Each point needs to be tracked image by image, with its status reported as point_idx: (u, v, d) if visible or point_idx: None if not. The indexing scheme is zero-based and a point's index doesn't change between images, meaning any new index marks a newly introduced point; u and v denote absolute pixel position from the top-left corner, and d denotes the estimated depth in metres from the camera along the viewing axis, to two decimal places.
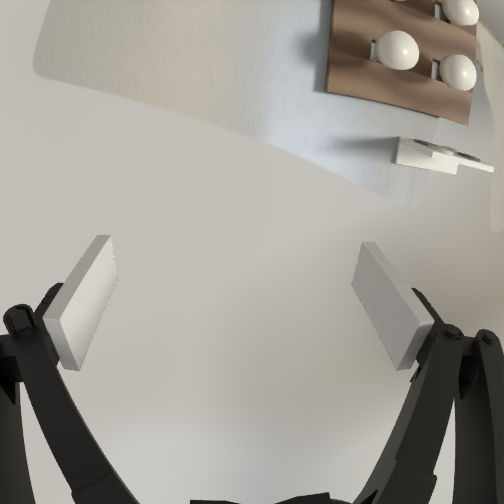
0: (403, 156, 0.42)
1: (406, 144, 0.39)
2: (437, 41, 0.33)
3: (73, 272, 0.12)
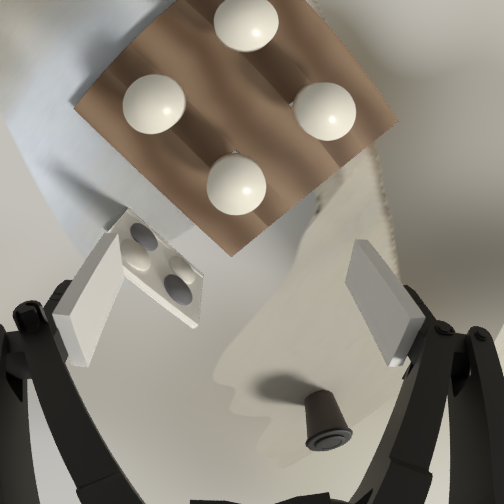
0: None
1: (118, 220, 0.32)
2: (263, 134, 0.30)
3: (81, 269, 0.12)
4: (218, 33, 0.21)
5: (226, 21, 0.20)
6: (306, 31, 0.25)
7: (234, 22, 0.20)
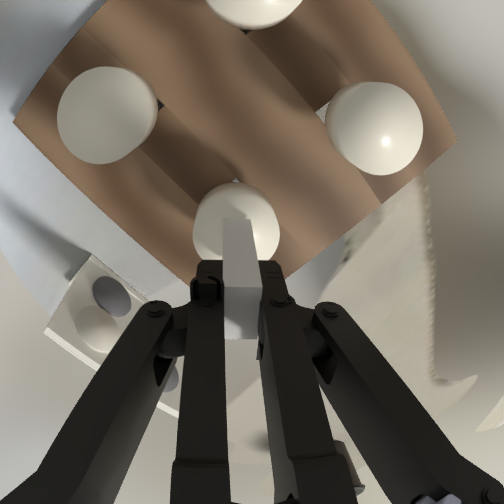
0: None
1: (77, 274, 0.23)
2: (276, 155, 0.21)
3: (225, 248, 0.15)
4: None
5: None
6: (341, 7, 0.16)
7: None
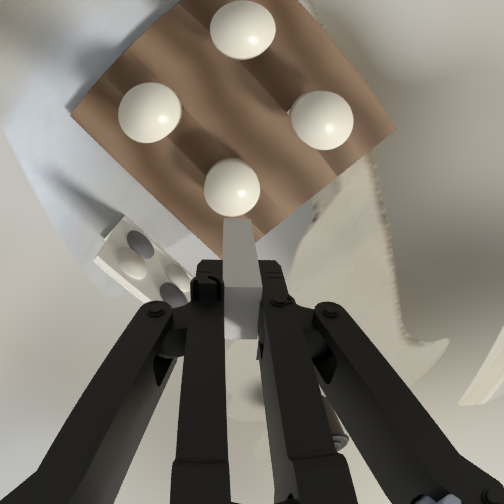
0: None
1: (114, 228, 0.32)
2: (259, 142, 0.30)
3: (225, 248, 0.15)
4: (214, 41, 0.21)
5: (222, 28, 0.20)
6: (304, 38, 0.25)
7: (230, 29, 0.20)
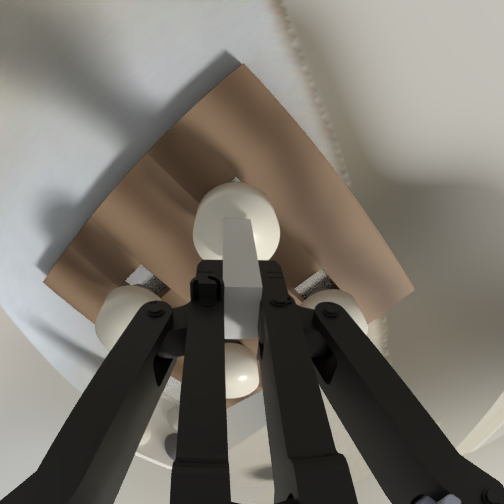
0: None
1: None
2: None
3: (225, 248, 0.15)
4: (200, 253, 0.19)
5: (209, 237, 0.19)
6: (320, 201, 0.23)
7: (220, 239, 0.19)
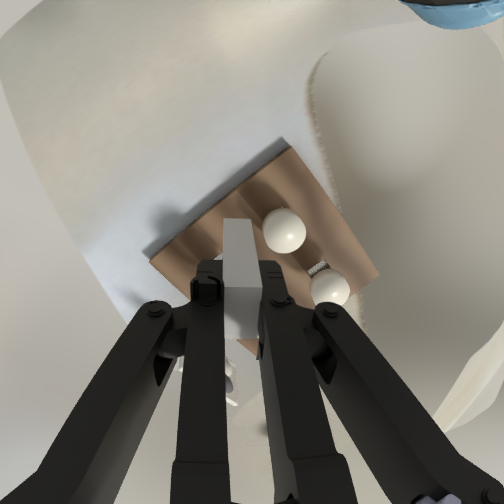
0: None
1: None
2: None
3: (225, 248, 0.15)
4: (267, 242, 0.39)
5: (272, 234, 0.38)
6: (325, 221, 0.42)
7: (277, 235, 0.38)
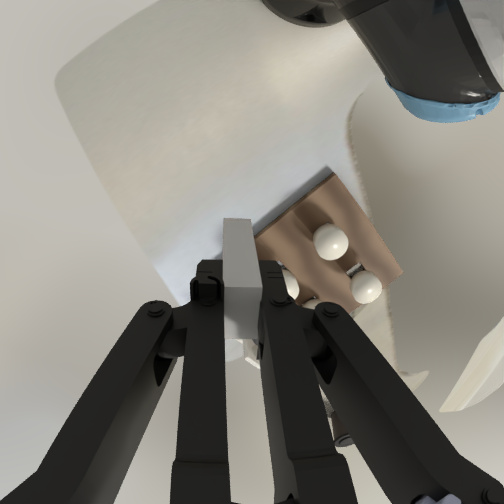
0: None
1: None
2: (329, 287, 0.56)
3: (225, 248, 0.15)
4: (318, 252, 0.48)
5: (323, 246, 0.47)
6: (361, 232, 0.51)
7: (326, 246, 0.47)
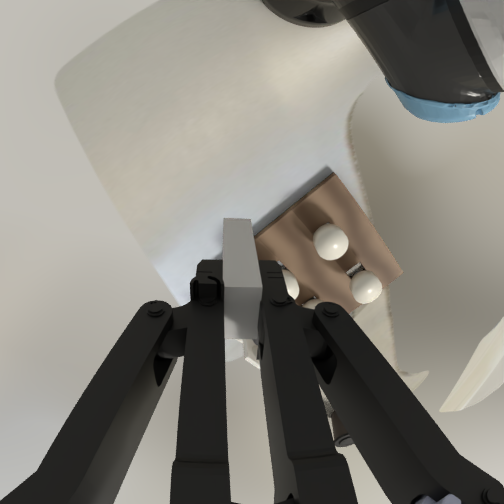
0: None
1: None
2: (329, 287, 0.56)
3: (225, 248, 0.15)
4: (318, 252, 0.48)
5: (323, 246, 0.47)
6: (361, 232, 0.51)
7: (326, 246, 0.47)
